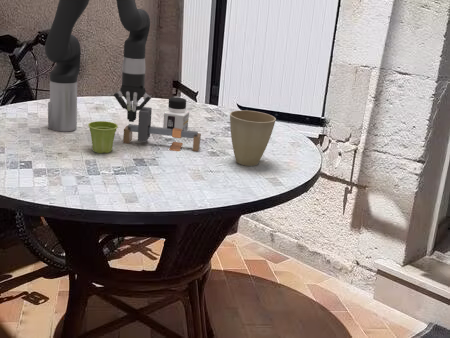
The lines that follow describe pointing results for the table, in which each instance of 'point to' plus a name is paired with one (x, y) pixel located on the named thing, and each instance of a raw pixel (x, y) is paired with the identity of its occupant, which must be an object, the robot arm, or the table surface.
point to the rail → (165, 131)
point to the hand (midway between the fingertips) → (131, 121)
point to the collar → (144, 124)
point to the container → (176, 114)
